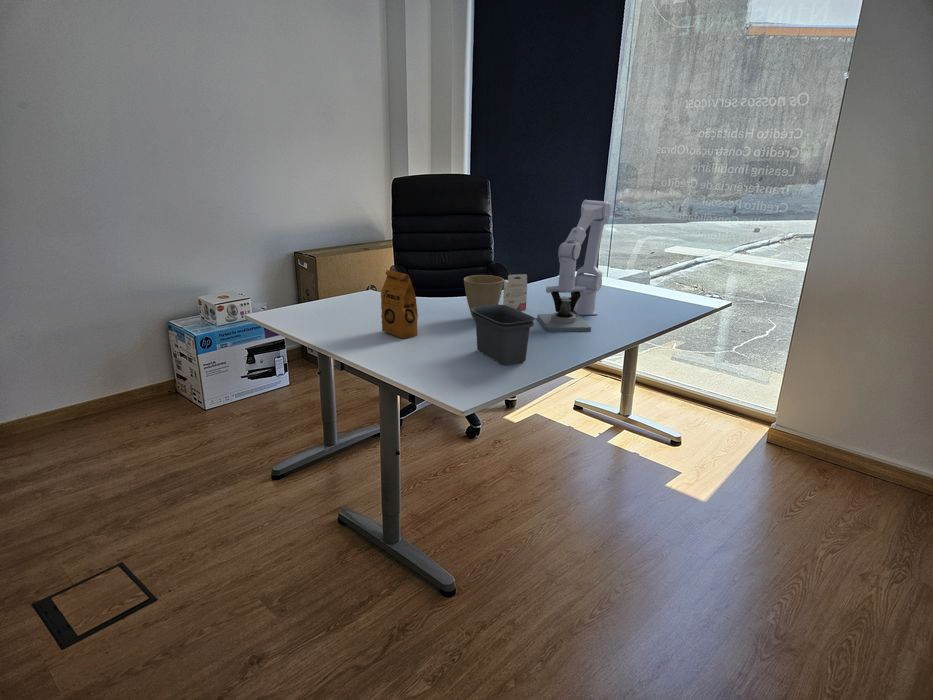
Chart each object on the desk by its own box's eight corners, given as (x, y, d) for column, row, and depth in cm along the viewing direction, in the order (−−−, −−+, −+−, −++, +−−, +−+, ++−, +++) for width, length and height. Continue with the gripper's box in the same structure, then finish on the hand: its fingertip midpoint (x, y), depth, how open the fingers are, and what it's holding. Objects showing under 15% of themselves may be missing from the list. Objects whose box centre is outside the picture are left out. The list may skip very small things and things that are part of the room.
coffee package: (399, 341, 203) (398, 277, 195) (378, 332, 211) (376, 271, 204) (422, 335, 209) (422, 273, 202) (400, 327, 218) (399, 267, 210)
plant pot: (499, 314, 237) (501, 274, 231) (504, 325, 223) (506, 283, 217) (461, 314, 235) (462, 274, 230) (464, 325, 221) (465, 283, 216)
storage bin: (465, 349, 197) (466, 306, 192) (505, 342, 204) (507, 301, 199) (500, 370, 179) (502, 324, 175) (542, 362, 187) (545, 318, 182)
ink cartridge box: (521, 306, 249) (523, 271, 244) (526, 309, 244) (528, 274, 239) (502, 307, 247) (503, 272, 242) (506, 310, 242) (508, 275, 237)
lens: (555, 314, 227) (557, 296, 225) (568, 314, 228) (570, 296, 225) (559, 318, 222) (560, 300, 220) (572, 318, 223) (574, 299, 221)
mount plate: (537, 317, 234) (538, 308, 233) (577, 317, 235) (578, 308, 234) (547, 331, 217) (548, 322, 216) (590, 331, 218) (591, 322, 217)
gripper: (550, 277, 216) (547, 314, 220) (589, 278, 217) (586, 314, 221) (545, 273, 222) (543, 309, 227) (584, 273, 224) (580, 309, 228)
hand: (564, 311), depth 225 cm, fingers closed on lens, 5 cm apart
